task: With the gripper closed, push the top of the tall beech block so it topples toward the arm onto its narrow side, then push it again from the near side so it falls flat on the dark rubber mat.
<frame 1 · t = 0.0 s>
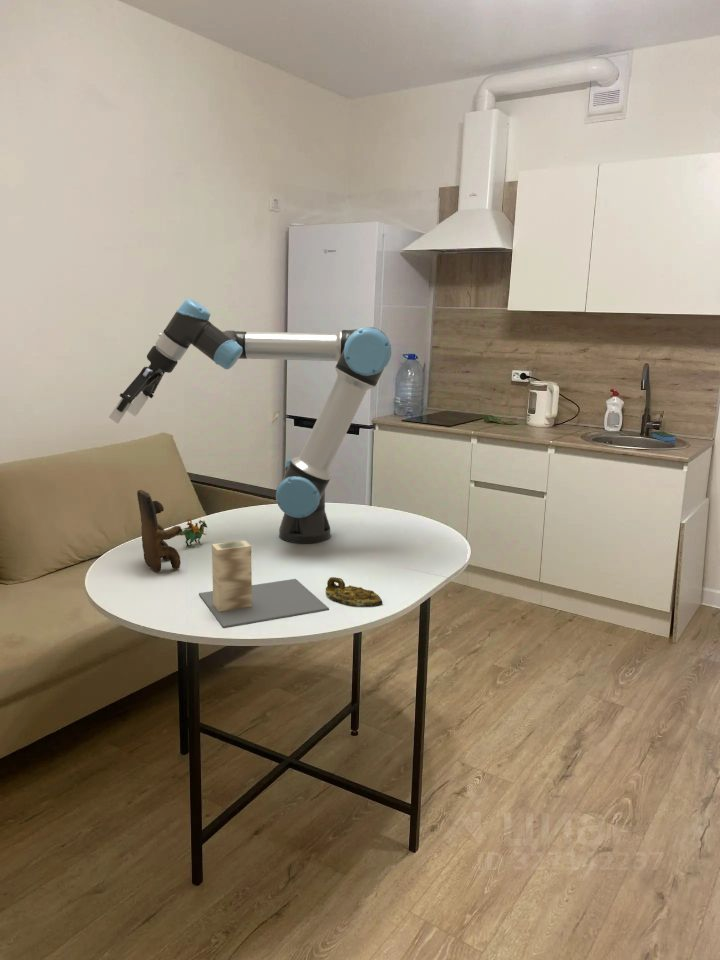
hand: (122, 416, 195), 36 cm above the table, tool tilted 35°, fingers open, 13 cm apart
rubber mat: (262, 602, 165), on the table
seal: (353, 600, 169), on the table
figurine 2: (191, 547, 203), on the table
beech block: (232, 605, 162), resting on rubber mat
figurine: (160, 567, 187), on the table
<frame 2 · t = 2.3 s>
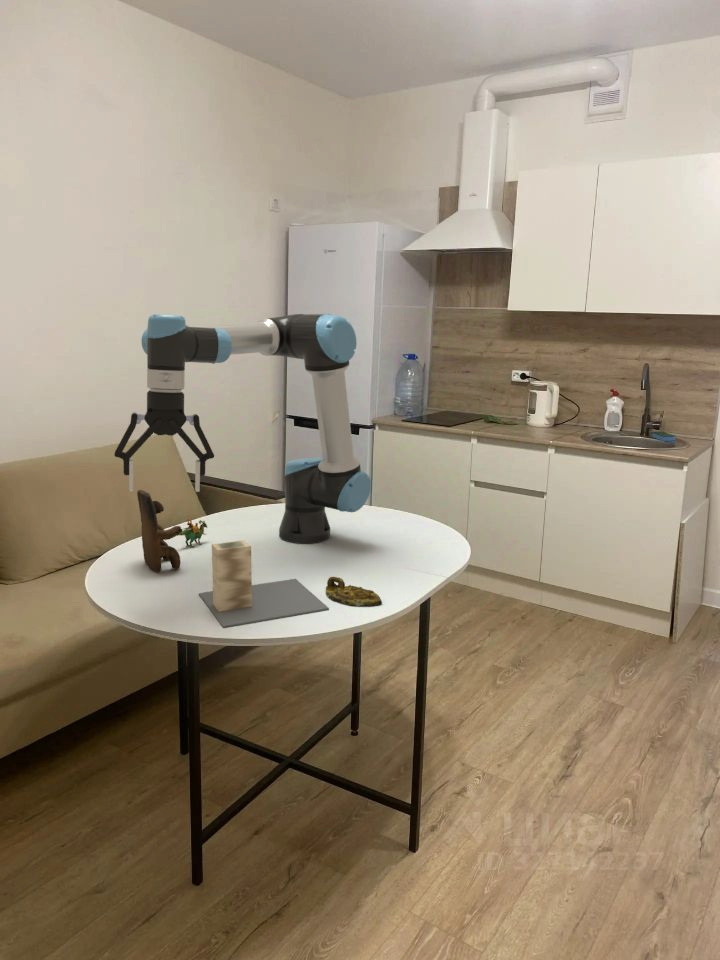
hand: (164, 490, 155), 27 cm above the table, tool pointing down, fingers open, 13 cm apart
nothing on the table moved.
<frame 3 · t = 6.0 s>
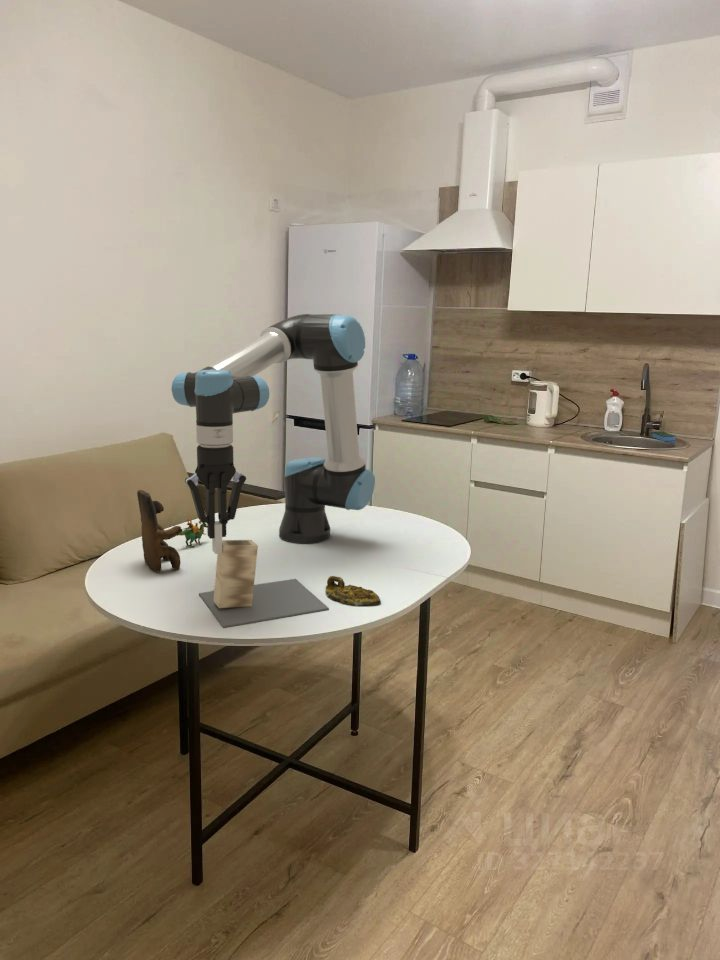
hand: (217, 551, 158), 13 cm above the table, tool pointing down, fingers closed
beech block: (232, 603, 162), point 1 cm above the table, tilted 6°, touching rubber mat
everything else where it was.
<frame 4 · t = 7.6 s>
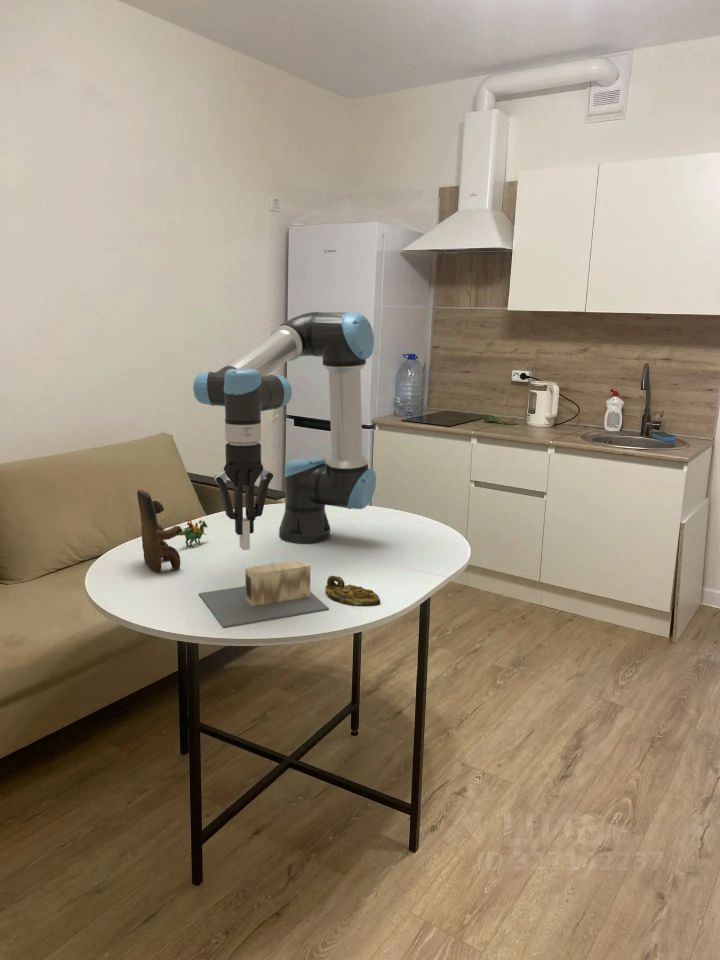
hand: (244, 547, 160), 13 cm above the table, tool pointing down, fingers closed
beech block: (248, 586, 163), point 4 cm above the table, tilted 90°, touching rubber mat
everything else where it was.
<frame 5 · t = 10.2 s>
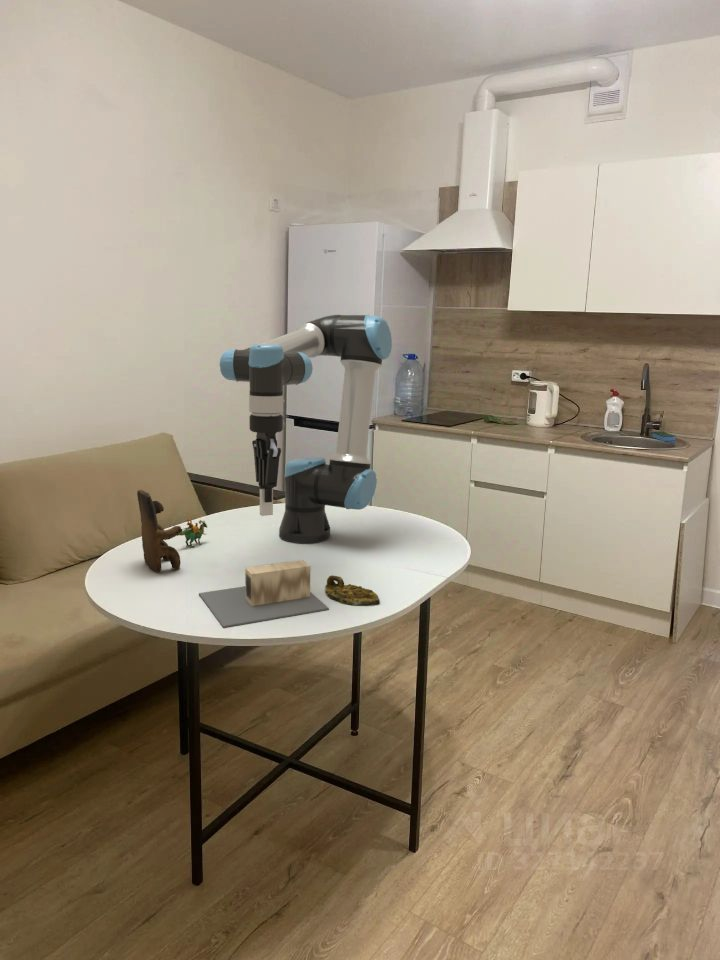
hand: (266, 514, 169), 18 cm above the table, tool pointing down, fingers closed
nothing on the table moved.
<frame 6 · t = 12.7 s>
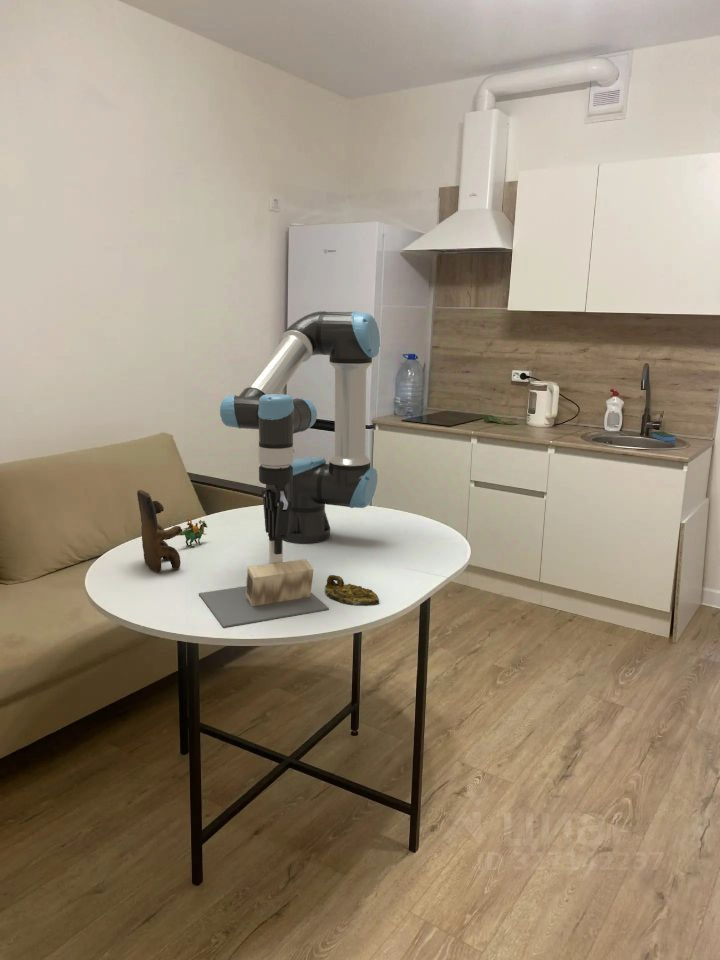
hand: (276, 565, 166), 8 cm above the table, tool pointing down, fingers closed
beech block: (249, 586, 162), point 5 cm above the table, tilted 90°, touching rubber mat
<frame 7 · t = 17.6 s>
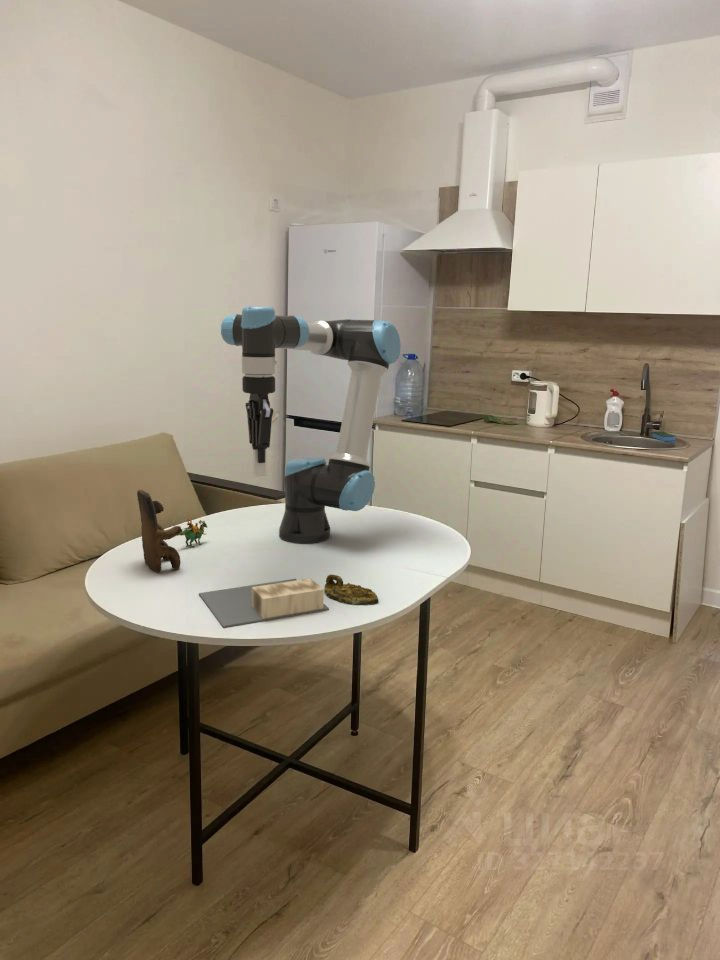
hand: (259, 475, 172), 26 cm above the table, tool pointing down, fingers closed
beech block: (257, 602, 158), point 3 cm above the table, tilted 90°, touching rubber mat
at the end: beech block tilted 90°; beech block inside the target area (6.2 cm from its centre), point 2.6 cm above the table; beech block moved 7.4 cm from its start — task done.
